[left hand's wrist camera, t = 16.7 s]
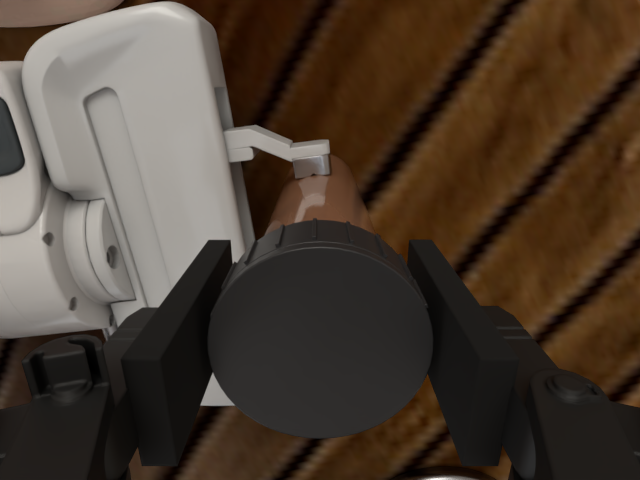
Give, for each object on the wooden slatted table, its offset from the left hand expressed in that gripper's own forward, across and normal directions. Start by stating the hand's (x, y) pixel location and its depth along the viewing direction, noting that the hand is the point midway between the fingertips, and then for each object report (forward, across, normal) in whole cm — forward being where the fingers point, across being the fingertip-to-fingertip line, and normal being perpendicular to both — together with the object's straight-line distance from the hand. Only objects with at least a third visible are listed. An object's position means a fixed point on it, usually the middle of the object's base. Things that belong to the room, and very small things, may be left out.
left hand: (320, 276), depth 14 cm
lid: (-4, 0, 0) cm, 4 cm away
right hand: (+7, -1, 0) cm, 7 cm away
